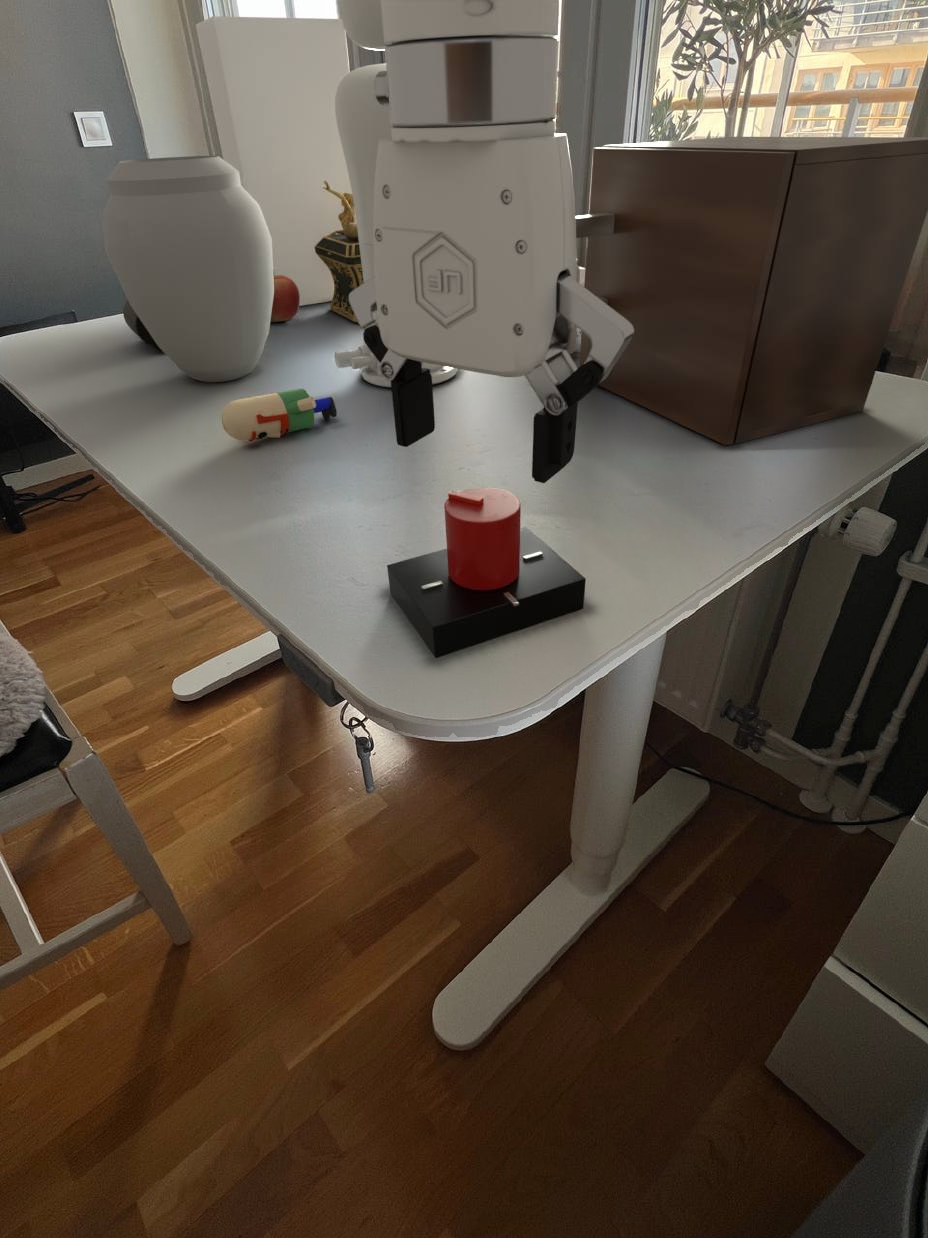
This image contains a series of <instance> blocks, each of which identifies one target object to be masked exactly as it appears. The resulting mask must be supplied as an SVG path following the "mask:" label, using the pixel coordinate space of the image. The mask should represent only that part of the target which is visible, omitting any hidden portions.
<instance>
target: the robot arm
mask: <svg viewBox="0 0 928 1238" xmlns="http://www.w3.org/2000/svg"><path fill="white" fill-rule="evenodd" d="M561 1H562V0H337V4H338V9H339V15H340V19H342V22H343V25H344V28H345V31H346V36H348V38H349V39H350V40H351V42H353V44H355V45H356V46H358V47H360V48H363V49H366V50H371V51H372V50H373V51H384V57H385V63H376V64H369V65H364V66H361V67H356V68H355V69H353V70H350V72H349V73H348V74H347V75H346V76H344V78H343V79H342V80H341V82H340V83H339V86H338V88H337V91H336V96H335V113H336V120H337V126H338V131H339V135H340V139H341V144H342V148H343V152H344V156H345V160H346V164H347V169H348V174H349V179H350V184H351V189H352V195H353V201H354V208H355V215H356V222H357V230H358V239H359V246H360V255H361V264H362V272H363V281H364V283H363V284H362V285H360V286H359V287H357V288H356V289H355V290H353V291H352V292H350V294H349V303H350V305H351V308H352V310H353V312H354V314H355V316H356V318H357V321H358V323H357V324H358V325H359V327H360V329H362V330H363V332H362V333H363V334H362V338H363V339H362V341H363V345H358V346H357V349H352V350H349V349H347V350H341V351H335V352H334V362H335V364H336V366H337V367H336V368H338V369H341V368H348V367H351V369H352V370H358V369H361V375H362V378H363V380H365V381H366V382H367V383H370V384H371V385H375V386H379V387H385V388H390V389H391V390H390V391H391V398H392V399H391V400H392V408H393V409H392V410H393V417H394V428H395V438H396V444H397V445H398V446H401V447H405V448H407V447H409V446H412V445H413V444H415V443H417V442H418V441H420V440H421V439H423V438H425V437H427V436H428V435H430V434H433V433H434V431H435V429H436V422H435V421H436V420H435V408H434V406H435V405H434V393H433V392H434V391H433V390H434V389H433V385H436V384H440V383H442V382H445V381H448V380H449V379H452V378H453V377H454V376H456V375H457V373H458V370H463V371H467V372H474V373H478V374H485V375H489V376H490V375H491V376H496V377H503V378H504V377H505V378H516V377H517V378H518V377H522V376H524V377H525V379H526V381H527V382H528V383H529V385H530V386H531V388H532V390H533V392H534V393H535V395H536V397H537V398H538V399H539V401H540V403H541V405H542V406H543V408H542V409H540V410H539V411H537V412H536V413H535V414H534V416H533V426H532V427H533V429H532V462H531V478H532V479H533V480H534V482H537V483H540V484H546V483H547V482H548V481H549V480H550V479H552V478H553V477H554V476H556V475H558V473H559V472H560V471H562V469H564V468H566V466H567V465H568V464H569V463H570V462H571V461H572V459H573V456H574V454H575V444H576V431H577V416H578V403H579V402H580V401H581V400H583V399H584V398H585V397H586V396H587V395H589V394H590V393H591V392H592V391H594V390H595V389H596V388H597V387H598V386H599V384H600V383H602V382H603V381H604V380H605V379H606V378H608V377H609V376H610V375H611V373H612V370H613V367H614V366H615V364H616V363H617V362H618V360H619V359H620V357H621V356H622V354H623V352H624V351H625V349H626V347H627V346H628V344H629V343H630V341H631V339H632V338H633V335H634V327H633V325H632V324H631V323H630V322H629V321H628V320H627V319H625V318H624V317H623V316H621V315H620V314H619V313H617V312H616V311H615V310H614V309H612V308H611V307H610V306H608V305H607V304H606V303H604V302H603V301H602V300H600V299H599V298H598V297H597V296H595V295H594V294H593V293H591V292H590V291H589V290H587V289H586V288H585V287H583V286H582V285H581V284H579V283H578V282H577V263H578V262H577V259H578V256H577V255H578V253H577V249H578V248H577V246H578V244H577V238H576V216H577V215H576V203H575V190H574V181H573V180H574V179H573V169H572V162H571V155H570V149H569V147H570V146H569V142H568V141H569V140H568V135H567V133H560V132H559V133H556V117H557V97H558V96H557V94H558V70H559V68H558V67H559V45H560V41H559V39H558V38H559V37H560V26H561V25H560V23H561ZM574 325H575V326H576V327H577V329H579V330H580V332H581V331H582V332H584V333H585V334H586V335H588V337H589V338H590V339H591V342H592V347H591V350H590V352H589V354H588V357H587V359H586V360H585V362H584V364H583V365H582V366H580V367H579V366H578V365H577V364H576V362H575V361H574V359H573V357H572V356H570V354H569V353H568V351H567V349H568V348H569V347H570V344H571V341H572V337H573V331H574Z"/></svg>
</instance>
